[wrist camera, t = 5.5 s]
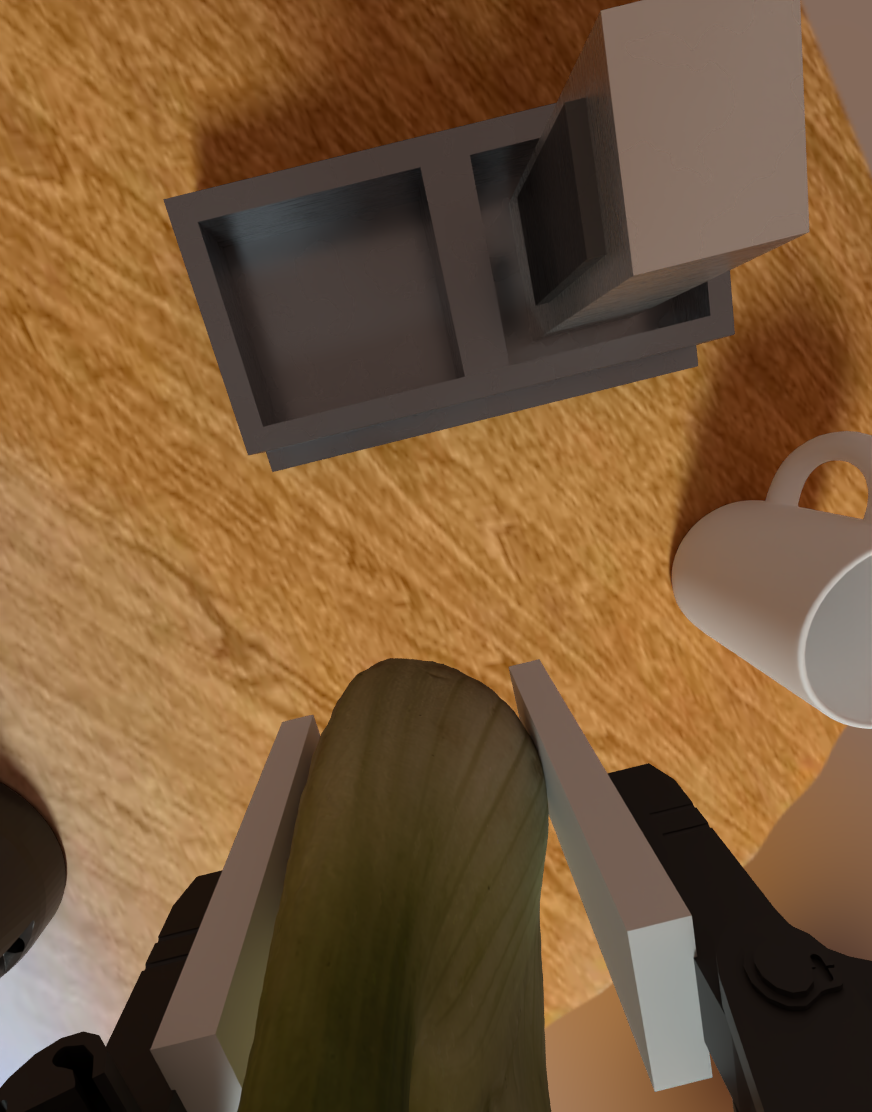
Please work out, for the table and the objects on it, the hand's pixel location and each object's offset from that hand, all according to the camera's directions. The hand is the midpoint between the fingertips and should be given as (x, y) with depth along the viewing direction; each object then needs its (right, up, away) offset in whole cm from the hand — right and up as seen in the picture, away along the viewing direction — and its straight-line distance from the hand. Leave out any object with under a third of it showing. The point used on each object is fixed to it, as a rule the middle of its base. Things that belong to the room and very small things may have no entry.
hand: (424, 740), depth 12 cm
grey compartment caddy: (+1, +17, +13) cm, 22 cm away
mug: (+18, +6, +17) cm, 26 cm away
